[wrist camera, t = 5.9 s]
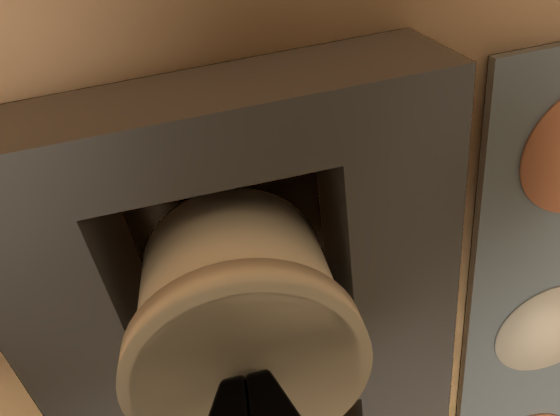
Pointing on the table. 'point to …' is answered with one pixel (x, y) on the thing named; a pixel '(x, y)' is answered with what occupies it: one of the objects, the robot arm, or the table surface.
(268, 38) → the table surface
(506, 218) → the pattern card
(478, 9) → the table surface
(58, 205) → the button panel
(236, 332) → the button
